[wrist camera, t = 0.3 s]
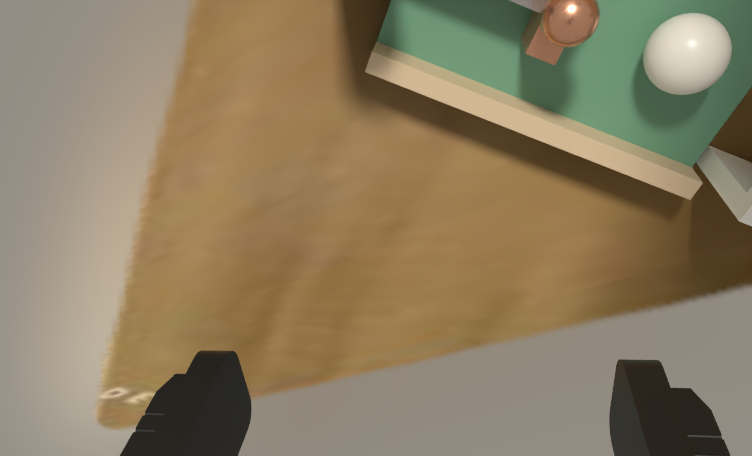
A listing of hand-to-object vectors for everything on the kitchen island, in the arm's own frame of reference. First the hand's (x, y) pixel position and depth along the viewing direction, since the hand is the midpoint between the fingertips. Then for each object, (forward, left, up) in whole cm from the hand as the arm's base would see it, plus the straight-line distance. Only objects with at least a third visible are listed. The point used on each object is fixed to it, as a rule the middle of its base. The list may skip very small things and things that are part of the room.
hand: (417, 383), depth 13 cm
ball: (-5, +11, -23) cm, 26 cm away
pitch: (-5, +6, -26) cm, 27 cm away
